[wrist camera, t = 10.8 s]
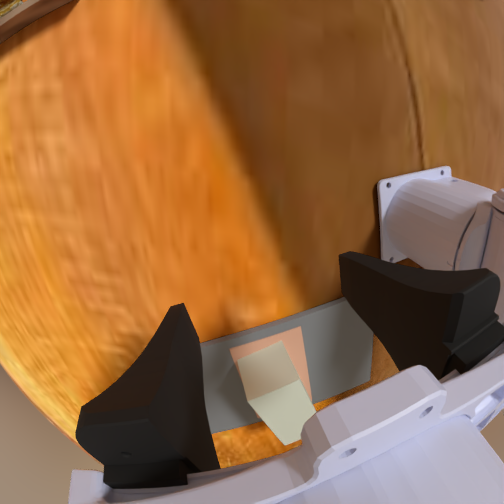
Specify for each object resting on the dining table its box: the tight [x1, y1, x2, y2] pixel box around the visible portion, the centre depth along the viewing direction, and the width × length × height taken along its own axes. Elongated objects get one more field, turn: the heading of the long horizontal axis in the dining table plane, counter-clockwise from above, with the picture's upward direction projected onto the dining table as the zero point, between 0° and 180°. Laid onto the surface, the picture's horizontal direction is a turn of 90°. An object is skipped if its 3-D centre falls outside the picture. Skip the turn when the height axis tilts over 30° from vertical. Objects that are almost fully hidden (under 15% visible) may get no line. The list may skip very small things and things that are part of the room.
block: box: [237, 340, 316, 445], centre depth 25 cm, size 10×4×5 cm, turn 22°
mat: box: [200, 297, 373, 434], centre depth 28 cm, size 22×14×1 cm, turn 103°
